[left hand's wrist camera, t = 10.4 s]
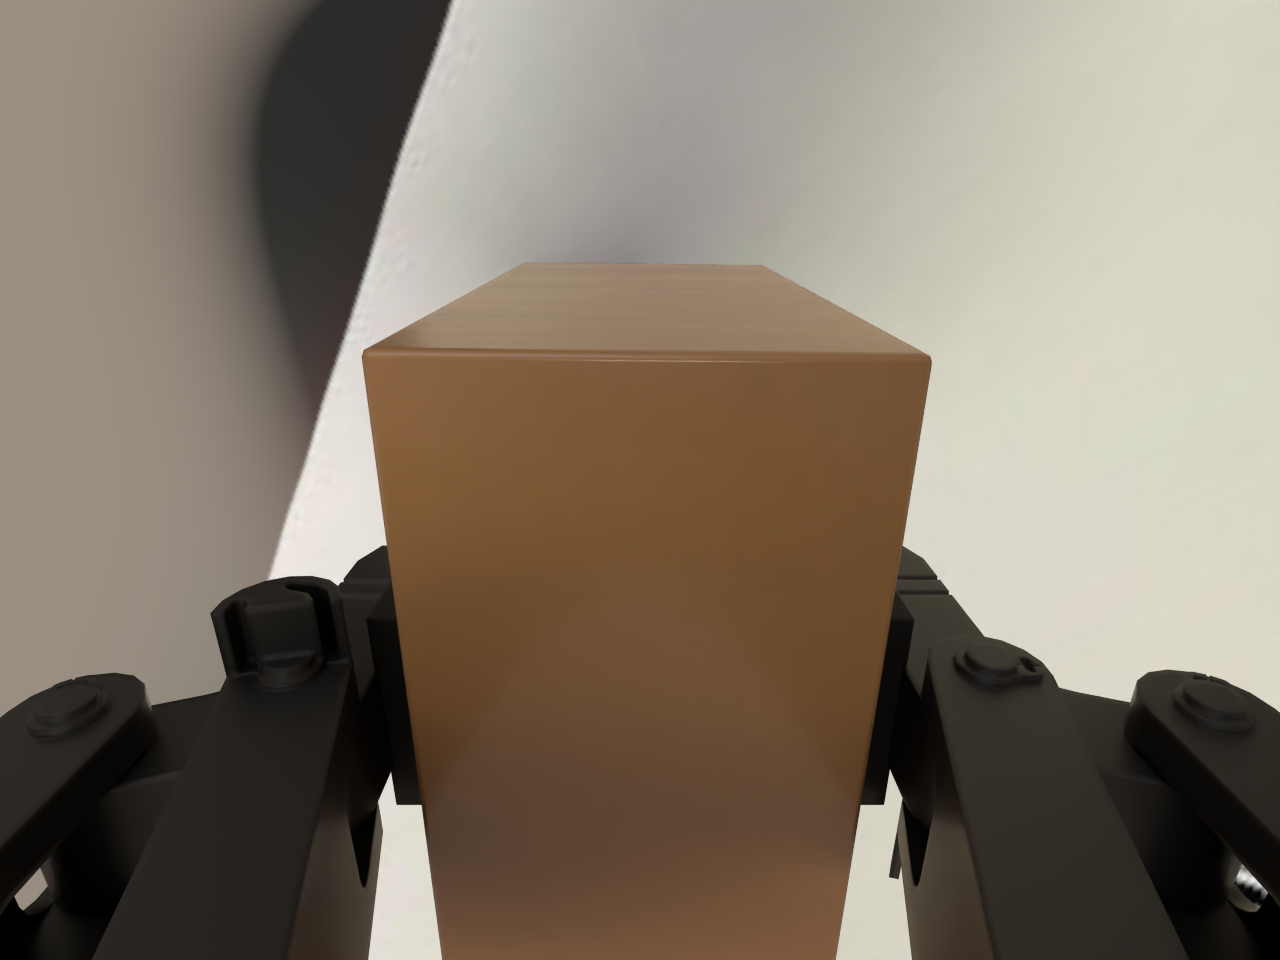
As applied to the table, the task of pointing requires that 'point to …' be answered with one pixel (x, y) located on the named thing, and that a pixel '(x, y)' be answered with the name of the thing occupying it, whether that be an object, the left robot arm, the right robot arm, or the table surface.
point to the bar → (643, 602)
